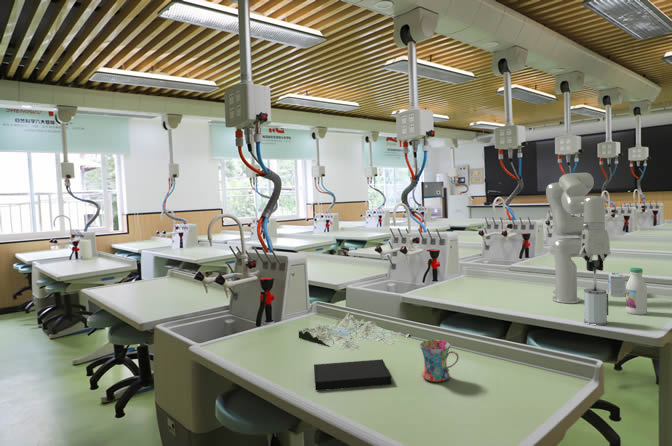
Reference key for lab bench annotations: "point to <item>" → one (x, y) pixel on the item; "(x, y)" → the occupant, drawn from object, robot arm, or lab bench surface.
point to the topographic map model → (347, 333)
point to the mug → (436, 360)
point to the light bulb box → (616, 284)
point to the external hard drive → (351, 374)
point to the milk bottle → (636, 293)
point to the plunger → (596, 264)
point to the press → (595, 306)
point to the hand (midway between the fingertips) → (594, 270)
